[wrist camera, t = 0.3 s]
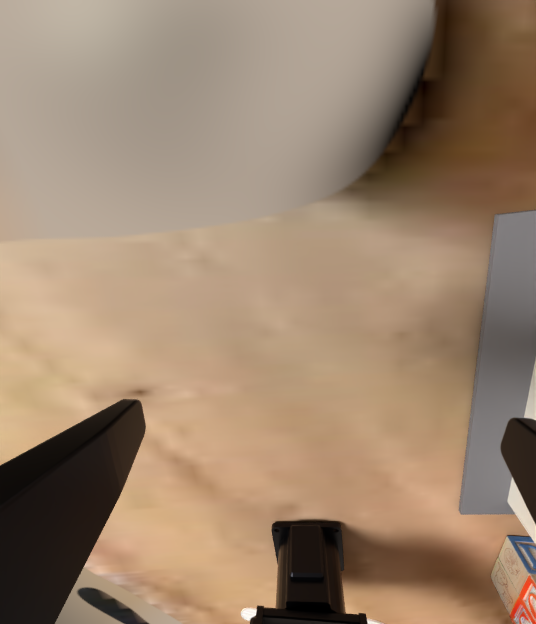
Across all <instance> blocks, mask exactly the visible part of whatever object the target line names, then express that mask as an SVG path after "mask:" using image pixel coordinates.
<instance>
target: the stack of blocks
mask: <svg viewBox="0 0 536 624" xmlns="http://www.w3.org/2000/svg"><path fill="white" fill-rule="evenodd" d="M491 579H492V581H493V583H494V585H495V588H496V590H497V592H498V593H499V595H500V597H501V599H502V601H503V603H504V605H505V607H506V609H507V611H508V613H509V614H510V618H511V620H512V622H513V624H536V544H535V543H534V541H533V540H532V538H531V537H521V536H507V537H506V540H505V542H504V544H503V546H502V549H501V551H500V554H499V557H498V558H497V560H496V563H495V565H494V568H493V570H492V573H491Z"/></svg>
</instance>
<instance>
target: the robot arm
mask: <svg viewBox="0 0 536 624" xmlns="http://www.w3.org/2000/svg"><path fill="white" fill-rule="evenodd" d="M145 429H146V425H145V419H144V414H143V409H142V404H141V402H140V401H139V400H137V399H123V400H121V401H119V402H117V403H115V404H113V405H111V406H110V407H108V408H106V409H104V410H102V411H100V412H98V413H97V414H95V415H93V416H91V417H89V418H87V419H85V420H84V421H82V422H80V423H78V424H76V425H74V426H72V427H71V428H69V429H67V430H65V431H63V432H61V433H60V434H58V435H56V436H54V437H52V438H50V439H48V440H47V441H45V442H43V443H41V444H39V445H37V446H35V447H34V448H32V449H30V450H28V451H26V452H24V453H22V454H21V455H19V456H17V457H15V458H13V459H11V460H10V461H8V462H6V463H4V464H2V465H0V624H55V622H56V620H57V618H58V616H59V614H60V612H61V610H62V608H63V606H64V604H65V602H66V600H67V598H68V596H69V594H70V593H71V590H72V588H73V587H74V585H75V583H76V581H77V578H78V577H79V575H80V573H81V571H82V569H83V567H84V565H85V563H86V561H87V559H88V557H89V555H90V553H91V551H92V549H93V547H94V546H95V544H96V542H97V540H98V538H99V536H100V534H101V532H102V530H103V528H104V526H105V524H106V522H107V520H108V518H109V516H110V514H111V512H112V510H113V508H114V506H115V504H116V502H117V500H118V498H119V496H120V494H121V492H122V490H123V487H124V485H125V483H126V480H127V478H128V475H129V472H130V470H131V467H132V465H133V462H134V460H135V457H136V455H137V452H138V450H139V447H140V444H141V442H142V439H143V437H144V434H145ZM500 449H501V454H502V457H503V459H504V461H505V463H506V465H507V467H508V469H509V471H510V473H511V475H512V477H513V480H514V482H515V484H516V486H517V488H518V490H519V492H520V494H521V496H522V498H523V500H524V502H525V504H526V507H527V509H528V511H529V513H530V515H531V517H532V519H533V520H534V522H535V524H536V420H534V419H531V418H516V417H514V418H511V419H510V420H509V421H508V423H507V426H506V429H505V432H504V435H503V438H502V441H501V446H500ZM272 536H273V541H274V547H275V552H276V557H277V563H278V575H277V595H276V608H264V606H257V612H256V616H254V617H252V618H251V619H250V624H368V622H367V618H366V614H364V613H359V614H358V615H357V614H346V612H345V603H344V594H343V585H342V577H341V571H343V570H344V561H343V546H342V531H341V525H340V524H339V523H274V524H272Z"/></svg>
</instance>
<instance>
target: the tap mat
mask: <svg viewBox="0 0 536 624" xmlns="http://www.w3.org/2000/svg"><path fill="white" fill-rule="evenodd" d="M535 359H536V210H529V211H521V212H512V213H504V214H495V219H494V227H493V235H492V243H491V251H490V259H489V267H488V276H487V284H486V292H485V300H484V308H483V316H482V325H481V333H480V341H479V349H478V357H477V365H476V373H475V382H474V390H473V398H472V406H471V414H470V422H469V430H468V439H467V447H466V455H465V463H464V471H463V479H462V487H461V496H460V504H459V512H460V514H461V515H464V514H515V513H514V511H513V510H512V508H511V507H510V505H509V504H508V502H507V501H508V496H509V491H510V485H511V480H512V475H511V473H510V471H509V469H508V467H507V465H506V463H505V461H504V459H503V457H502V454H501V449H500V446H501V441H502V438H503V435H504V432H505V429H506V426H507V423H508V421H509V420H510V419H511V418H514V417H516V418H524V415H525V410H526V405H527V400H528V395H529V390H530V385H531V380H532V374H533V369H534V364H535Z"/></svg>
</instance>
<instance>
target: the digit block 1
mask: <svg viewBox="0 0 536 624" xmlns="http://www.w3.org/2000/svg"><path fill="white" fill-rule="evenodd" d="M507 502H508V504H509V505H510V507H511V508H512V510H513V511H514V513H515V514H516V516H517V517H518V519H519V520H520V522H521V523H522V525H523V526H524V528H525V529H526V531H527V532H528V534H529V535H530V537H531V538H532V540H533V541H534V543H535V544H536V524H535V522H534V520H533V519H532V517H531V515H530V513H529V511H528V509H527V507H526V504H525V502H524V500H523V498H522V496H521V494H520V492H519V490H518V488H517V486H516V484H515V482H514V480H513V477H512V480H511V485H510V491H509V496H508V501H507Z"/></svg>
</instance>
